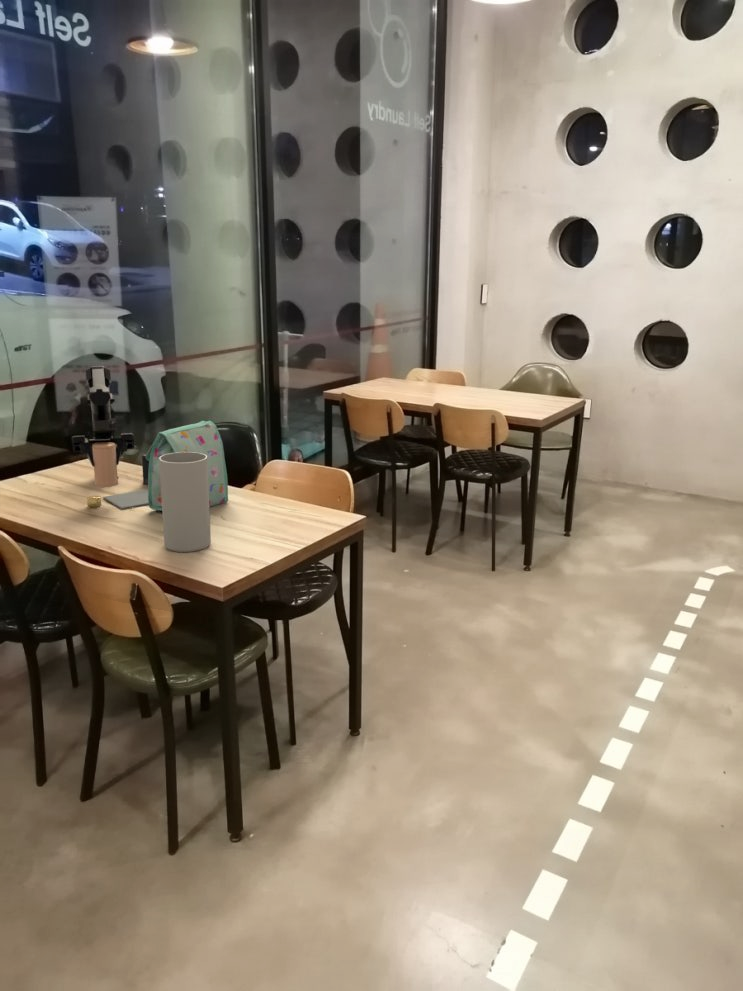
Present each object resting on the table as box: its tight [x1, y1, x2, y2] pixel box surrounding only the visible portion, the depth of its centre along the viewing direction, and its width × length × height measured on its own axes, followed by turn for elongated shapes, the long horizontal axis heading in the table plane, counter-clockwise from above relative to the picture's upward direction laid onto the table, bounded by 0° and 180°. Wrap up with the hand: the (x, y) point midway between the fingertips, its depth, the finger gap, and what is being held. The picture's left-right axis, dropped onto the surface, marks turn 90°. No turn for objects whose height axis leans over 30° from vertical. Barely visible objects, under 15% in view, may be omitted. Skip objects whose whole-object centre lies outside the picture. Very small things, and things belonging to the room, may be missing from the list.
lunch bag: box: [146, 420, 229, 511], centre depth 243 cm, size 23×16×27 cm
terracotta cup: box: [91, 442, 119, 488], centre depth 243 cm, size 7×7×13 cm
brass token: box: [86, 495, 102, 509], centre depth 245 cm, size 4×4×3 cm
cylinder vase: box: [159, 452, 212, 553], centre depth 209 cm, size 12×12×25 cm
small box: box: [141, 452, 149, 485], centre depth 273 cm, size 11×6×10 cm, turn 171°
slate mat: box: [102, 488, 149, 511], centre depth 252 cm, size 15×15×1 cm
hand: (105, 465), depth 242 cm, fingers closed on terracotta cup, 7 cm apart
